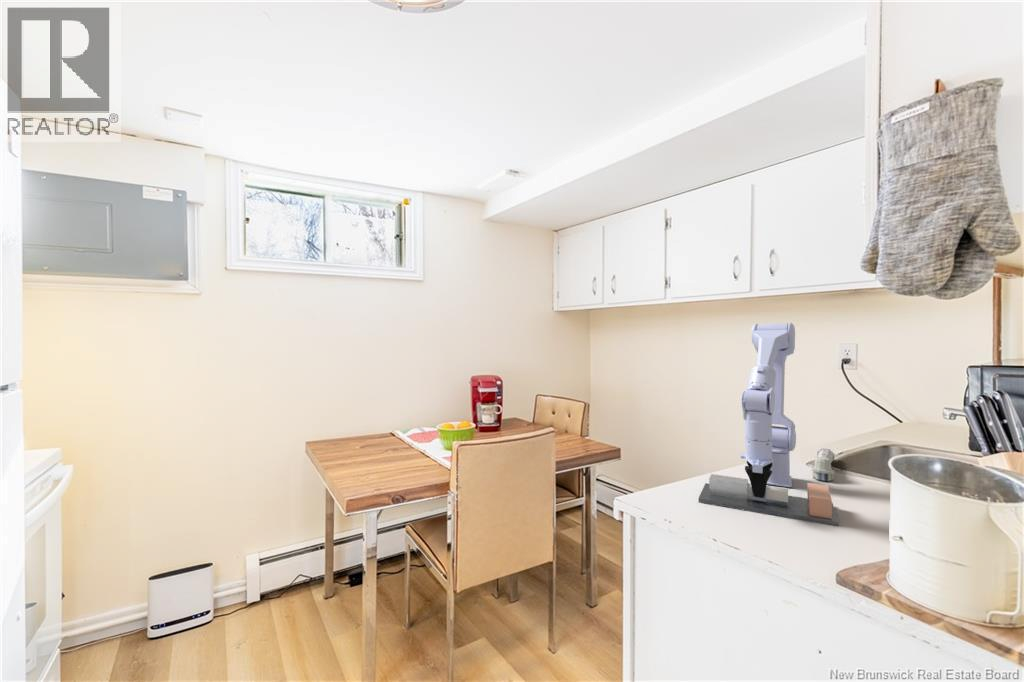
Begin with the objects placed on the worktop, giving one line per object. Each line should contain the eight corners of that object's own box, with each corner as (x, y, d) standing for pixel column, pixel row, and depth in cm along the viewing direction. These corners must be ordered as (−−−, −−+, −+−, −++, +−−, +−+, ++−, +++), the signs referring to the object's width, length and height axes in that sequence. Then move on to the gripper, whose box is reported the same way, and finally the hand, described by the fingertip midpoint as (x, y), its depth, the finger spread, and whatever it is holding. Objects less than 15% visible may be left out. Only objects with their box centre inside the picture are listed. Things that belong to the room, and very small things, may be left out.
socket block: (807, 499, 106) (807, 482, 106) (827, 502, 104) (827, 485, 104) (809, 515, 98) (809, 496, 98) (831, 518, 96) (831, 499, 95)
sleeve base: (705, 486, 119) (705, 468, 119) (832, 506, 104) (832, 485, 104) (698, 502, 109) (698, 482, 109) (837, 526, 94) (837, 503, 94)
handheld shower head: (836, 448, 139) (834, 457, 119) (836, 470, 138) (834, 482, 119) (816, 446, 142) (810, 454, 122) (816, 467, 141) (810, 478, 122)
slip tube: (715, 488, 114) (715, 474, 114) (788, 499, 106) (787, 484, 106) (713, 493, 111) (713, 479, 111) (788, 505, 102) (788, 490, 102)
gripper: (742, 430, 115) (743, 481, 115) (737, 443, 103) (738, 500, 103) (773, 433, 111) (774, 486, 112) (772, 447, 99) (773, 506, 99)
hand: (759, 493), depth 107 cm, fingers closed on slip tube, 4 cm apart
